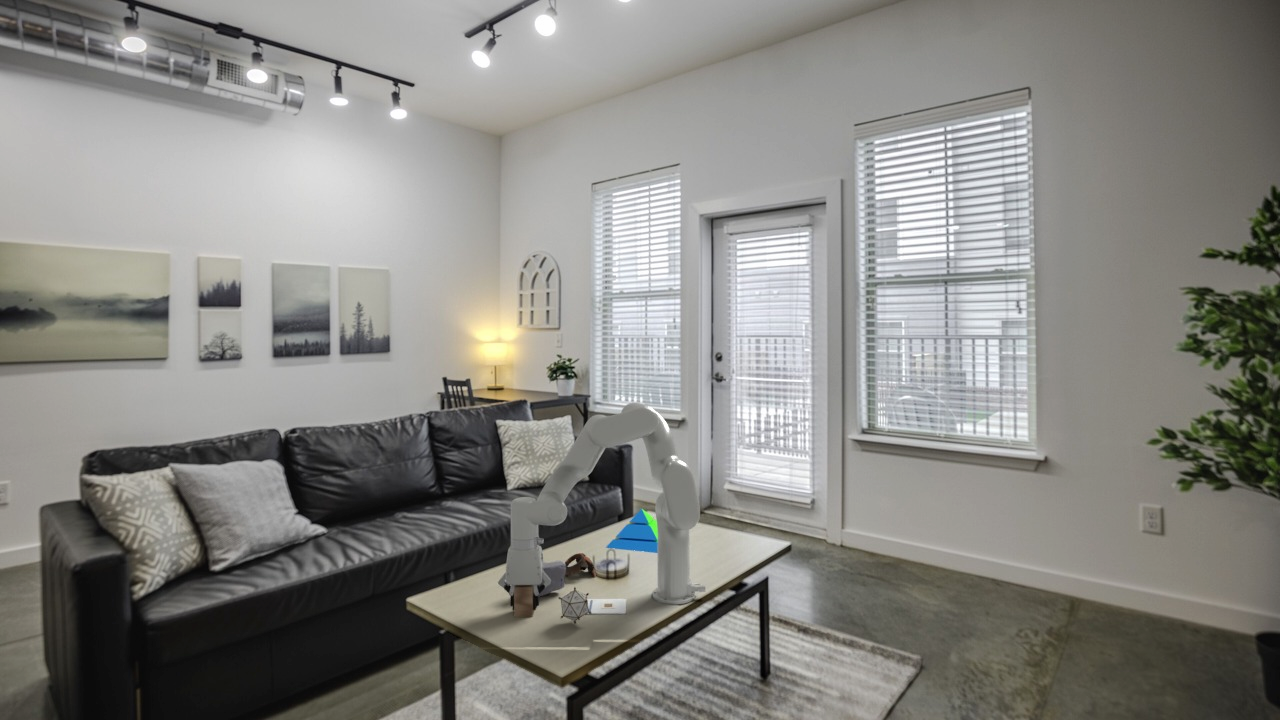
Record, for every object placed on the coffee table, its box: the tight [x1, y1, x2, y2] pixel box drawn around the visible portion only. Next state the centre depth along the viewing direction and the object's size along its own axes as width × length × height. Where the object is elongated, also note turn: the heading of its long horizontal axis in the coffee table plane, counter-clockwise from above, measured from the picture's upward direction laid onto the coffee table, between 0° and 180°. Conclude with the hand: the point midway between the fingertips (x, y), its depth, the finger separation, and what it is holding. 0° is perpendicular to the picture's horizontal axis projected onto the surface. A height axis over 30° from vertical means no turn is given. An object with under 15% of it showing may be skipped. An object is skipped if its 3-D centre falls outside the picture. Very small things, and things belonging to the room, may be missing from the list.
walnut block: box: [513, 585, 536, 618], centre depth 174 cm, size 5×5×8 cm
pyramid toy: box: [605, 508, 658, 554], centre depth 237 cm, size 25×25×14 cm
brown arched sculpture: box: [564, 552, 597, 578], centre depth 203 cm, size 12×9×8 cm
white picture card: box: [586, 598, 627, 615], centre depth 178 cm, size 12×10×1 cm
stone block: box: [539, 560, 566, 598], centre depth 186 cm, size 12×5×10 cm, turn 105°
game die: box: [557, 586, 593, 624], centre depth 166 cm, size 9×8×10 cm
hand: (524, 607), depth 174 cm, fingers closed on walnut block, 5 cm apart
